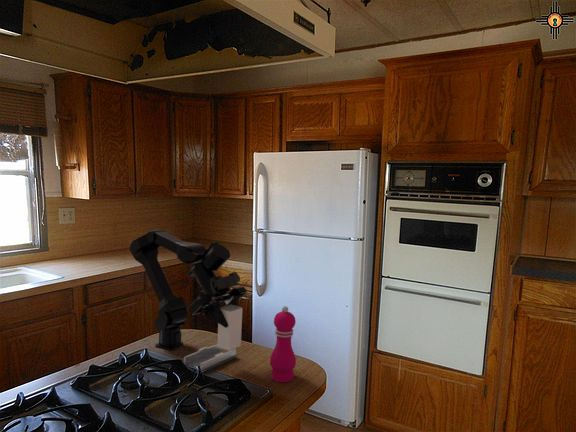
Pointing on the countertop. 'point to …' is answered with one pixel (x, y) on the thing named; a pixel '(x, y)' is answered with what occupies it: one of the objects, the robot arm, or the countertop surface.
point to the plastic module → (230, 328)
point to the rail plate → (209, 357)
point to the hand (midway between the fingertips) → (233, 324)
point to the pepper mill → (283, 347)
